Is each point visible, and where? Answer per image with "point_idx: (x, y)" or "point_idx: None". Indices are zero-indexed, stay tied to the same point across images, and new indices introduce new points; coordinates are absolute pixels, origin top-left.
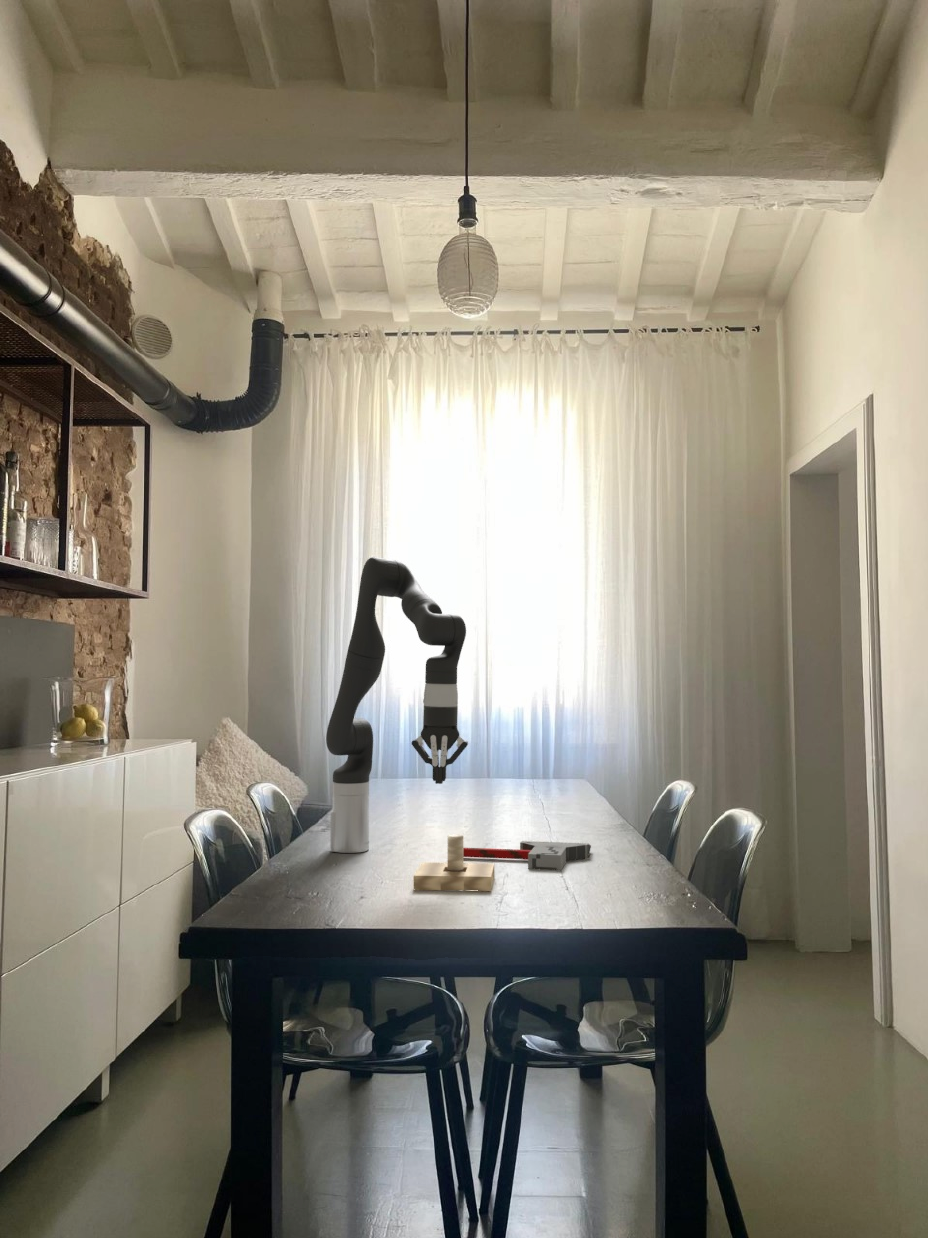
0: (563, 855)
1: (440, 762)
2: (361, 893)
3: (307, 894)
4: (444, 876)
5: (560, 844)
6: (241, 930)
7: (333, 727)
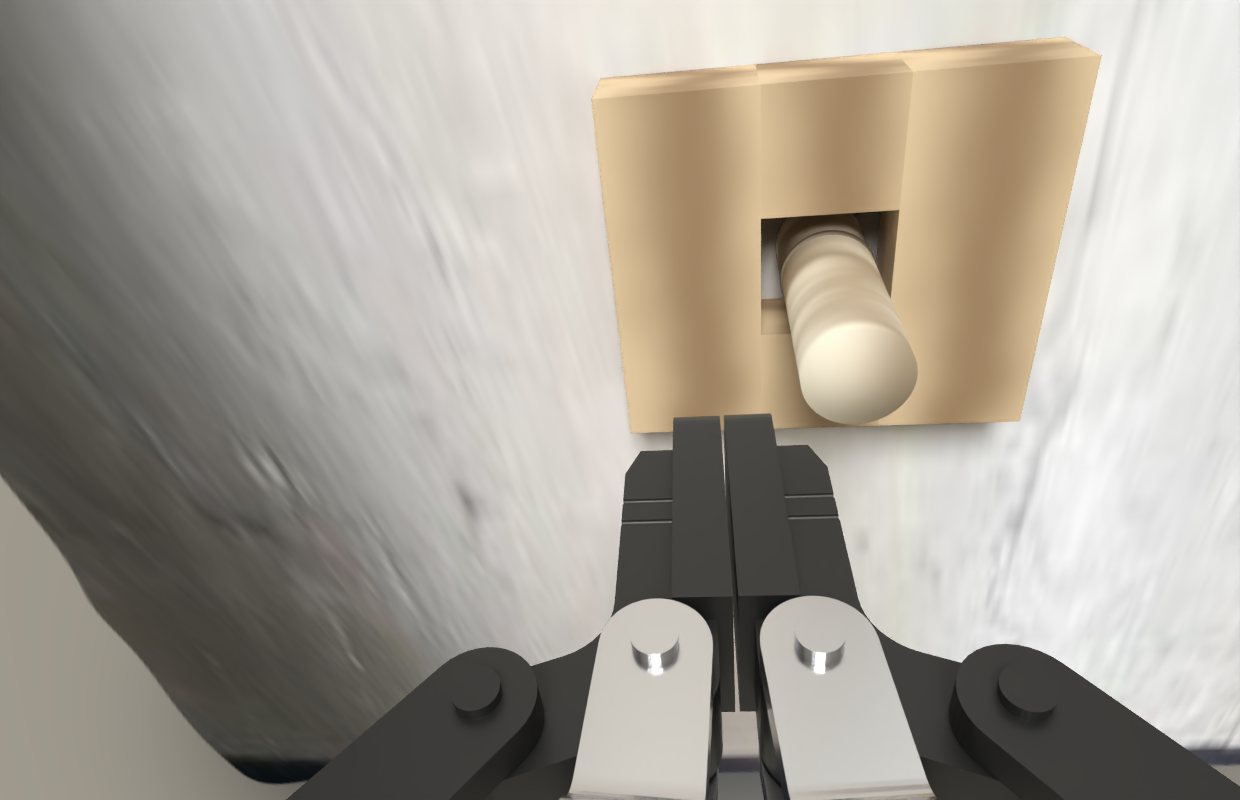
0: None
1: (771, 795)
2: (439, 453)
3: (253, 483)
4: (780, 427)
5: None
6: None
7: None
